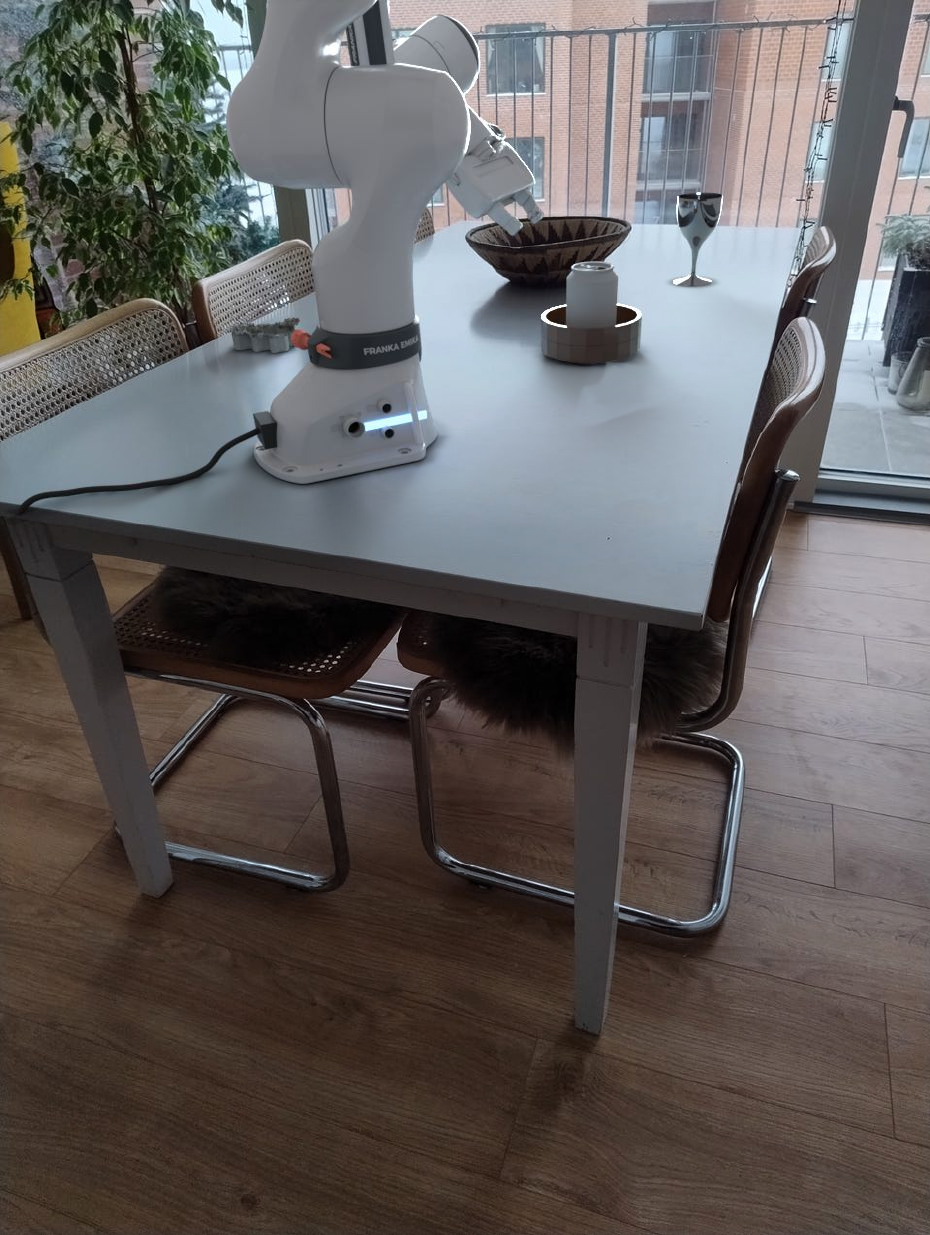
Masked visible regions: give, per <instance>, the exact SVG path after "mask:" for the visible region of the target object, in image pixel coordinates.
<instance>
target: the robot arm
mask: <svg viewBox="0 0 930 1235" xmlns="http://www.w3.org/2000/svg"><path fill="white" fill-rule="evenodd" d="M389 4H390V0H266V14H265V20H264V27H263V32H262V37H261V40H260V42H259V47H258V49H257V52H256V55H255V58H254V60H253V62H252V64H251V66H250V67H249V69H248V70H247V72H246V73H245V75H244V76H243V77H242V79H241V80H240V81H239V82H238V83H237V85H236V86H235V88H234V89H233V91H232V93H231V95H230V99H229V101H228V104H227V108H226V115H225V130H226V137H227V141H228V146H229V148H230V150H231V153H232V155H233V157H234V159H235V161H236V162H237V164H238V165H239V167H240V168H241V170H242V171H243V172H244V173H245V175H247V176H248V177H249V178H250V179H252V180H253V181H255V182H258V183H264V184H267V185H272V186H276V187H280V188H286V189H290V190H323V189H324V190H326V189H327V190H328V189H329V190H330V189H331V190H332V189H347V190H350V191H351V211H350V215H349V218H348V220H346V221H344V222H342V223H341V224H339V225H338V226H335V228H333V229H331V230H330V231H329V232H328V233H326V234H325V235H323V237H322V238H321V239H320V240H319V241H318V242H317V244H316V245H315V248H314V249H313V253H312V258H311V262H310V266H311V274H312V279H313V280H312V281H313V287H314V288H313V289H314V295H315V300H316V309H317V310H316V311H317V315H318V316H317V317H318V321H319V322H318V323H317V325H316V327H315V329H314V331H313V332H312V333H311V334H310V333H309V332H306V331H305V330H302V329H301V328H300V329H298V328H297V330H295V331H294V332H293V334H294V335H291V338H293V339H291V341H292V344H293V346H294V347H295V348H298V349H299V350H301V351H307V353H308V359H309V360H308V362H307V363H306V364H305V365H304V366H303V367H302V369H300V370H299V372H298V373H297V374H296V375H295V376H294V377H293V378H292V380H291V381H290V382H289V383H288V384H287V385H286V386H285V387H284V388H283V389H282V391H280V392H279V393H278V395H277V396H276V397H275V398H273V400H272V402H271V405H270V409H269V410H270V411H269V410H265V411H260V412H254V413H252V416H253V422H254V426H255V427H254V429H252V430H249V431H247V432H245V433H243V434H241V435H238V436H236V437H235V438H233V439H231V440H229V441H228V442H227V443H225V444H223V445H222V446H221V447H220V448H219V449H218V450H217V451H216V452H215V453H214V455H213V456H212V458H211V459H210V461H209V462H208V463H207V464H205V465H203V466H201V467H200V468H198V469H196V470H194V471H192V472H190V473H187V474H183V475H180V476H175V477H169V478H163V479H156V480H149V481H141V482H137V483H136V482H135V483H129V484H128V483H127V484H113V485H110V484H109V485H93V486H82V487H75V488H70V489H61V490H49V491H44V492H39V493H36V494H33V495H31V496H30V497H28V498H26V499H25V500H24V501H23V502H22V503H21V504H20V506H19V507H18V508H17V509H16V511H15V515H22V514H24V513H25V512H26V511H27V509H28V508H29V507H30V506H32V505H33V504H35V503H36V502H39V501H42V500H46V499H52V498H53V499H54V498H65V497H72V496H77V495H86V494H94V493H96V494H97V493H115V492H116V493H117V492H131V491H139V490H145V489H149V488H157V487H165V486H171V485H177V484H180V483H183V482H186V481H190V480H194V479H196V478H199V477H200V476H203V475H204V474H205V473H208V472H209V471H211V470H212V469H213V468H214V467H215V466H216V465H217V464H218V462H219V461H220V459H221V457H222V456H223V455H225V453H226V452H228V451H229V450H231V449H232V448H233V447H235V446H237V445H239V444H241V443H243V442H245V441H248V440H249V439H252V438H254V437H255V436H256V437H257V439H258V440H257V441H256V442H255V444H254V446H253V454H254V459H255V461H256V463H257V464H258V466H259V467H261V468H262V469H263V470H264V471H266V472H267V473H268V474H270V475H272V476H274V477H275V478H278V479H280V480H283V481H285V482H289V483H293V484H301V485H304V484H305V485H306V484H312V483H316V482H317V483H318V482H322V481H326V480H332V479H336V478H341V477H345V476H350V475H355V474H360V473H365V472H370V471H374V470H378V469H384V468H389V467H394V466H399V465H402V464H408V463H412V462H417V461H420V460H423V459H424V458H425V457H426V454H427V448H428V447H429V446H430V445H431V444H432V443H433V442H434V441H435V440H436V439H437V437H438V428H437V426H436V423H435V421H434V417H433V415H432V412H431V408H430V405H429V401H428V397H427V392H426V388H425V384H424V379H423V374H422V373H423V372H422V367H421V362H422V354H423V351H422V350H423V348H422V334H421V326H420V318H419V317H418V315H416V309H415V298H414V247H415V240H416V236H417V231H418V228H419V224H420V222H421V219H422V217H423V214H424V212H425V210H426V208H427V206H428V205H429V203H430V202H431V200H432V199H433V197H434V196H435V195H436V194H437V192H438V190H439V189H441V187H442V186H443V185H444V184H445V186H446V188H447V189H448V191H449V192H450V193H451V195H452V196H453V198H454V199H455V200H456V201H457V202H458V204H459V205H460V206H461V208H462V209H463V210H464V211H465V213H467V215H469V216H470V217H472V219H475V220H478V219H481V218H483V217H485V216H488V217H489V218H490V219H491V221H493V223H496V224H498V226H500V227H502V228H503V229H505V231H506V232H507V233H508V234H509V235H510V236H515V235H517V234H518V233H519V232H520V231H521V230H522V229H523V223H522V222H521V221H520V220H519V218H518V217H517V216H513V215H512V214H511V213H510V212H509V211H508V210H507V209H506V208H505V207H507V206H509V205H511V204H513V203H517V205H518V206H519V207H521V208H522V209H523V210H524V212H525V213H526V218H527V219H528V220H529V221H530V222H531V223H532V224H538V223H539V222H540V221H541V220H542V219H543V218H544V216H545V213H544V211H543V210H542V209H541V208H540V206H538V203H537V201H536V199H535V196H534V195H533V193H532V192H531V191H530V190H532V188H533V187H534V186H535V184H536V180H535V177H534V175H533V173H532V172H531V170H530V169H529V167H528V165H526V163H525V162H524V161H523V160H522V158H521V157H520V156H519V154H518V153H517V151H516V150H515V149H514V148H513V147H512V146H511V145H510V144H509V143H508V142H506V141H504V140H505V139H506V133H504V131H503V130H502V129H501V128H500V127H499V126H498V125H495V124H493V123H489V122H487V121H486V120H484V119H483V118H482V117H479V115H478V114H477V113H476V111H474V109H473V108H472V107H470V106H469V105H468V104H467V101H466V99H465V95H466V94H467V93H468V92H470V90H471V89H472V88H473V86H474V85H475V83H476V82H477V80H478V78H479V76H480V75H479V74H480V69H481V55H480V50H479V46H478V44H477V41H476V40H475V38H474V37H473V35H472V33H471V32H470V31H469V30H468V29H467V27H465V25H463V24H462V23H461V22H460V21H459V20H457V19H455V18H454V17H451V16H449V15H445V14H436V15H434V16H433V17H431V18H429V19H427V20H426V21H425V22H423V23H422V24H421V25H420V26H418V27H417V28H416V29H415V30H413V31H412V32H411V33H410V34H409V35H407V37H405V38H404V37H400V38H396V39H394V40H393V33H392V24H391V23H392V22H391V15H390V5H389ZM344 35H345V36H346V41H347V49H348V54H349V60H350V65H348V66H347V65H345V66H344V65H342V63H341V46H342V40H343V37H344Z"/></svg>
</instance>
